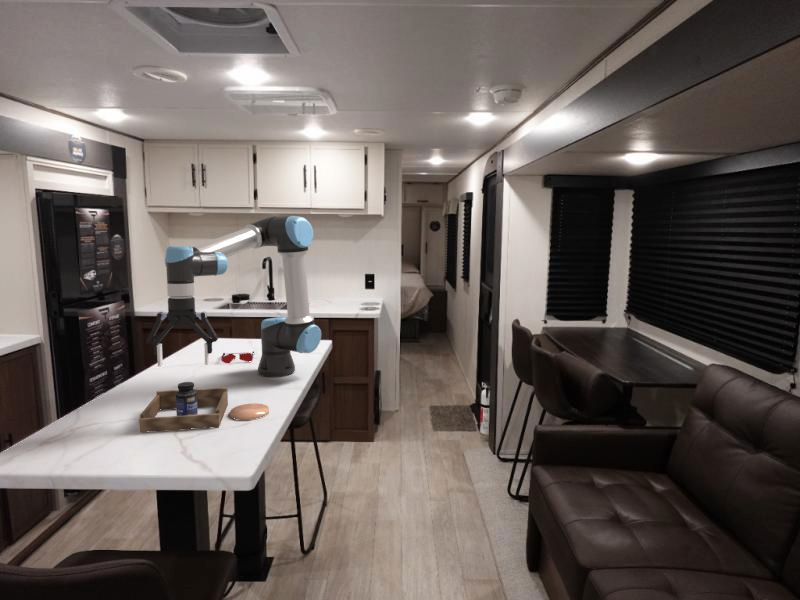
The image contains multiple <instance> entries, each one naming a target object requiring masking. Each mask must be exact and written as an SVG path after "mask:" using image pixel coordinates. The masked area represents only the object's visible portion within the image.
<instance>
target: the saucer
mask: <svg viewBox="0 0 800 600" xmlns="http://www.w3.org/2000/svg"><path fill="white" fill-rule="evenodd" d="M229 411H230V412H229V413H230V418H231V417H232V418H231V419H233V418H235V419H234V420H236V419H240V420H239V421H251V420H250V419H255V420H257V419H256V418H259V419H261V418H260V417H262V418H264V417H266V416H267V414H268V415H269V414H270V413H269V412H270V407H269V406H268V405H267V404H263V403H256V402H255V403H246V404H245V403H244V404H240V405H237V406H234V407H233V408H231V410H229ZM265 415H266V416H265ZM263 416H264V417H263Z"/></svg>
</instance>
